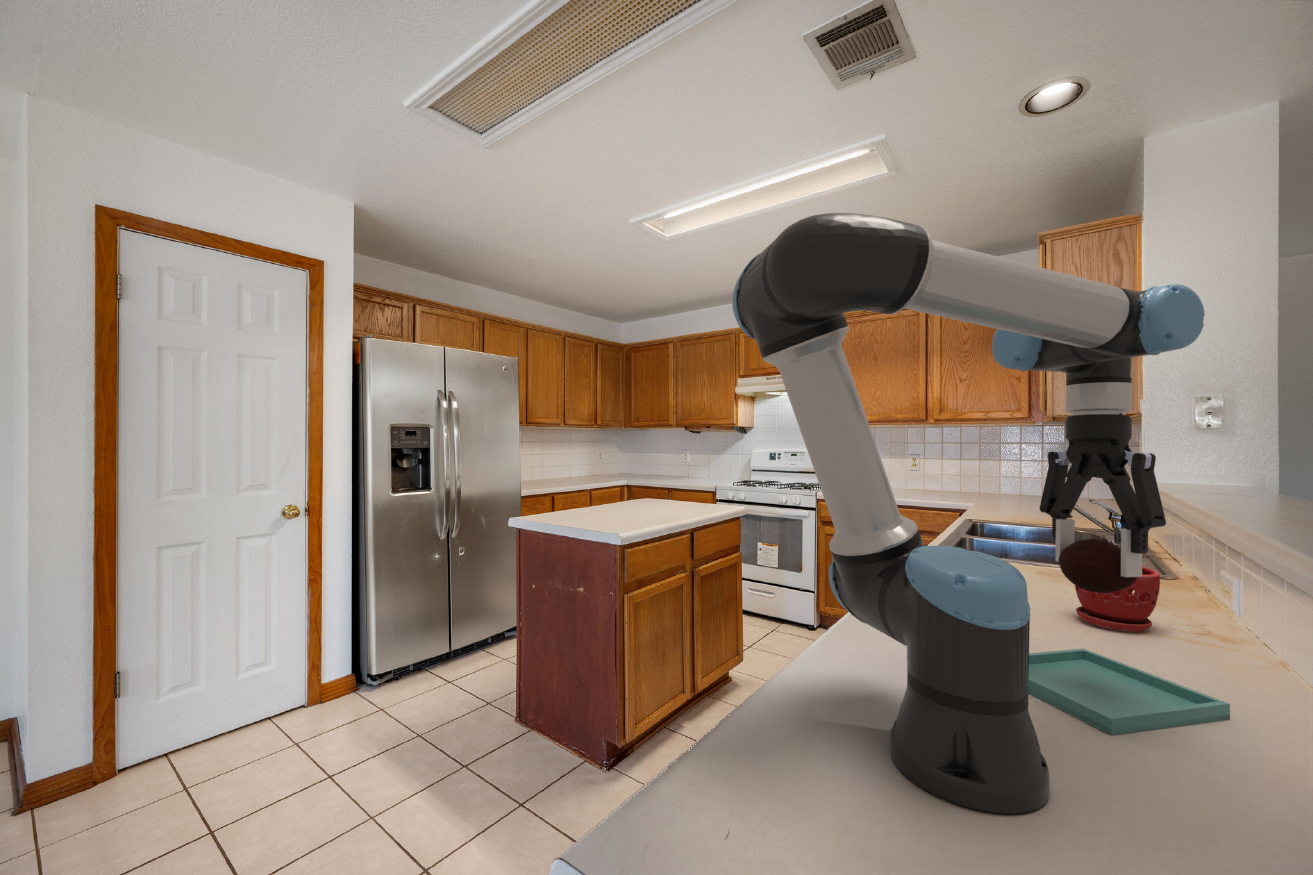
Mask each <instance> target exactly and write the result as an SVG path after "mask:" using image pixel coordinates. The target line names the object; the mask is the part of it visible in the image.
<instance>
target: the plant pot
mask: <svg viewBox="0 0 1313 875" xmlns="http://www.w3.org/2000/svg"><path fill="white" fill-rule="evenodd" d="M1160 585H1161V574H1160V572H1158V571H1156V570H1154V569H1152V568H1149V567H1145V566H1142V577H1137V579H1136V581H1135V582H1134V583H1133V584H1132V585H1131V586H1130V587H1127V588H1125V589H1123V590H1121V591H1116V592H1110V593H1098V592H1089V591H1087V590H1084V589H1081V588H1079V587H1078V586H1076V585H1074V589H1075V593H1076V596H1077V599H1078V601H1079V604H1080V605H1081V606H1078V607H1076V609H1075V612H1076V614H1077V615H1078V616H1079V617H1080V618H1081V619H1082V621H1085V622H1087V623H1089V624H1091V625H1093V626H1097V627H1100V628H1103V629H1108V630H1113V631H1118V632H1119V631H1120V632H1128V633H1129V632H1130V633H1137V632H1144V631H1147V630H1149V629H1150V628H1151V627H1152V625H1153V622H1152V620H1150V619H1149V617H1150V616H1151V615H1152V613H1153V612H1154V610H1155V608H1156V605H1157V603H1158V599H1159V598H1158V597H1159V595H1160V587H1161V586H1160ZM1133 592H1134V593H1133Z"/></svg>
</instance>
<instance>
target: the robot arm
mask: <svg viewBox="0 0 1313 875" xmlns="http://www.w3.org/2000/svg"><path fill="white" fill-rule="evenodd" d="M930 235H931V234H930V233H929V231H928V230H927V228H926V227H923V226H921V225H918V224H913V223H910V222H907V221H906V222H905V221H901V220H898V219H893V218H888V217H884V216H878V215H873V214H871V215H870V214H863V213H853V212H852V213H850V212H827V213H820V214H813V215H810V216H807V217H804V218H801V219H799V220H797V221H795V222H794V223H792V224H790V225H788V226H787V227H786V228H785V229H783V231H782V232H780V234H779V235H778V236H777V237H776V238H775V239H774V241H772V242H771V243H770V244H768V246H766V247H765V248H764V250H762V251H761V252H759V253H758V254H757V255H755V256H754V257H753V258H752V259H751V260H750V261H749V262H748V263H747V264H746V266H745V267H744V268H743V270H742V271H741V273H740V275H739V277H738V279H737V281H736V282H735V285H734V289H733V294H732V301H731V302H732V303H731V304H732V305H731V306H732V310H733V315H734V319H735V321H736V323H737V325H738V326H739V328H740V330H741V331H742V332H743V333H744V334H745V335H747V337H749V338H751V339H753V340H755V343H756V345H757V347H758V350H759V352H760V356H761V357H762V361H763V362H766V363H767V364H769V365H771V366H774V367H775V368H777V370H778V372H779V374H780V376H781V377H780V378H781V380H782V382H783V385H784V389H785V392H786V394H787V396H788V400H789V403H790V406H791V409H792V412H793V414H794V416H795V419H796V422H797V425H798V427H799V431H800V433H801V437H802V439H803V442H804V444H805V448H806V450H807V454H808V455H809V459H810V461H811V465H812V468H813V470H814V474H815V476H816V479H817V482H818V485H819V487H820V490H821V492H822V493H821V494H822V496H823V499H824V501H825V502H824V503H825V505H826V507H827V510H828V512H829V516H830V519H831V521H832V524H833V527H834V530H835V533H834V534H833V536H832V538H831V539H830V541H829V544H828V546H829V551H830V554H831V555H832V557H831V558H832V561H831V563H830V564H829V568H828V579H829V584H830V588H831V591H832V593H833V595H834V597H835V599H836V600H837V602H838V603H839V604H840V606H842V607H843V609H845V610H846V611H847V612H849V614H850V615H852V616H853V617H854V618H855V619H856V620H858V621H859V622H861V623H863V624H865V625H868V626H870V627H871V628H873V629H875V630H876V631H879V632H880V633H882V634H883V635H886V636H888V637H889V638H891V639H893V640H894V641H896V642H899V643H900V644H901V645H904V646H905V647H906V664H907V665H906V669H907V671H906V673H907V677H906V681H907V682H906V689H905V692H904V695H903V698H902V701H901V704H900V707H899V710H898V714H897V718H896V720H895V721H894V723H893V725H892V727H891V730H890V757H891V759H892V761H893V763H894V764H895V766H896V768H898V770H899V771H900V772H901V773H902V774H903V775H904V776H905V777H906V778H908V779H909V780H910V781H911V782H913V783H914V784H916V785H917V786H919V787H920V788H921V789H923V790H925V791H927V792H929V793H930V794H933V795H934V796H936V797H939V798H941V799H943V800H945V801H948V802H950V803H954V804H956V805H959V806H962V807H967V808H970V809H973V810H979V811H983V812H989V813H995V814H1022V813H1024V814H1025V813H1028V812H1032V811H1035V810H1039V809H1040V808H1041V807H1043V806H1044V805H1045V804H1046V803H1047V802H1048V800H1049V798H1050V772H1049V770H1050V769H1049V767H1048V763H1047V760H1046V759H1045V756H1043V754H1042V752H1041V746H1040V742H1039V739H1038V737H1037V733H1036V730H1035V728H1034V724H1033V721H1032V717H1031V716H1030V710H1029V693H1028V683H1029V653H1030V630H1031V629H1030V627H1031V626H1030V622H1031V620H1030V619H1031V605H1030V603H1029V598H1028V596H1029V595H1028V586H1027V581H1026V578H1025V577H1024V575H1023V574H1022V572H1021V571H1020V570H1019V569H1018V568H1017V567H1016V566H1014V565H1013V564H1011V563H1010V562H1008V561H1006V560H1003V559H1002V558H1000V557H997V556H995V555H991V554H988V553H984V552H981V551H977V550H968V549H965V548H963V547H957V546H948V545H924V541H923V539H922V536H921V534H920V530H919V527H918V524H917V523H916V522H915V521H914V520H912V519H910V518H908V517H906V516H903V515H902V514H901V513H900V510H899V507H898V505H897V501H896V498H895V496H894V492H893V490H892V487H891V484H890V482H889V478H888V474H887V473H886V469H885V467H884V464H883V461H882V458H881V454H880V452H879V450H878V447H877V443H876V440H875V438H874V434H873V432H872V430H871V427H870V424H869V421H868V420H869V419H868V417H867V415H866V412H865V409H864V406H863V403H862V399H861V398H860V394H859V392H858V389H857V386H856V385H857V384H856V383H855V380H854V377H853V374H852V372H851V368H850V365H849V362H848V360H847V357H846V353H845V351H844V347H843V342H844V340H845V338H846V336H847V334H848V332H849V330H850V327H849V325H848V321H847V318H846V315H845V313H851V312H865V311H866V312H875V313H879V314H885V315H895V314H898V313H900V312H901V311H903V310H904V309H905V310H911V311H915V312H920V313H924V314H928V315H933V316H937V317H943V318H945V319H946V318H947V319H951V320H956V321H959V322H964V323H968V324H969V323H970V324H973V325H974V324H975V325H979V326H983V327H987V328H991V329H996V330H995V332H994V334H993V337H992V341H991V344H992V346H991V353H992V357H993V359H994V360H995V362H996V363H997V364H998V365H999V366H1001V367H1002V368H1005V369H1007V370H1008V369H1010V370H1017V371H1020V372H1026V371H1028V372H1030V371H1032V372H1055V373H1057V372H1059V373H1065V378H1066V379H1065V381H1066V382H1065V384H1066V385H1065V386H1066V387H1065V412H1066V413H1068V414H1070V415H1069V416H1067V417H1066V418H1065V439H1066V440H1067V441H1068V446H1067V449H1066V450H1065V451H1048V454H1047V461H1048V468H1047V473H1046V477H1045V481H1044V487H1043V491H1042V495H1041V500H1040V505H1039V511H1040V512H1041V513H1045V514H1047V515H1049V516H1050V517H1051V521H1052V522H1051V524H1052V525H1051V528H1052V529H1051V530H1052V532H1051V536H1052V538H1053V539H1055V562H1057V563H1059V556H1060V553H1061V552H1062V551H1063V550H1064V549H1065V548H1066V547H1067V546H1069V545H1071V544H1072V543H1075V541H1076V540H1075V538H1076V537H1075V532H1076V530H1075V528H1076V527H1075V525H1076V524H1075V522H1076V520H1075V519H1072V518H1073V517H1074V516H1073V515H1072V512H1073V511H1074V508H1075V506H1076V504H1077V503H1078V500H1079V498H1080V496H1081V495H1082V492H1084V489H1085V487H1086V485H1087V483H1089V482H1090V481H1092V479H1093V478H1096V479H1102V482H1104V484H1106V485H1107V486H1108V488H1109V490H1110V492H1111V494H1112V496H1113V498H1114V500H1115V503H1116V504H1117V506H1118V508H1119V511H1120V513H1121V515H1122V517H1123V519H1124V521H1125V523H1126V525H1124V526H1123V528H1120V529H1121V530H1120V531H1121V532H1120V548H1121V576H1123V577H1142V567H1143V555H1144V554H1145V555H1146V554H1147V553H1148V551H1149V532H1150V530H1151V529H1154V528H1159V527H1161V528H1162V527H1166V525H1167V520H1166V516H1165V515H1166V514H1165V512H1164V507H1163V504H1162V503H1163V502H1162V499H1161V494H1160V491H1159V488H1158V481H1157V478H1156V474H1155V465H1156V460H1157V459H1156V458H1157V456H1156V455H1155V453H1149V452H1134V451H1133V452H1132V449H1131V448H1130V446H1129V442H1130V441H1131V440H1132V438H1133V437H1132V436H1133V435H1132V432H1133V430H1132V429H1133V428H1132V427H1133V418H1132V417H1131V416H1130V415H1128V414H1127V413H1128V412H1131V411H1132V408H1133V406H1132V404H1133V400H1132V399H1133V398H1132V396H1133V393H1132V392H1133V389H1132V387H1133V386H1132V385H1133V383H1132V382H1133V379H1132V378H1133V377H1132V365H1133V364H1132V363H1133V362H1132V361H1133V358H1136V357H1137V358H1138V357H1144V356H1145V357H1146V356H1158V355H1160V354H1162V353H1167V352H1171V351H1176V350H1177V351H1178V350H1181V349H1184V348H1187V347H1188V346H1190V345H1191V344H1193V343H1194V342H1195V341H1196V340H1198V339H1199V336H1200V335H1201V334H1202V331H1203V329H1204V326H1205V324H1204V318H1205V314H1206V313H1205V307H1204V305H1203V302H1202V300H1201V298H1200V296H1199V295H1198V294H1197V292H1195V290H1193V289H1192V288H1190V287H1188V286H1187V285H1183V284H1180V283H1179V284H1178V283H1177V284H1176V283H1173V284H1167V285H1161V286H1158V285H1157V286H1151V287H1149V288H1148V289H1145V290H1132V289H1127V288H1123V287H1119V286H1115V285H1111V284H1107V283H1102V282H1098V281H1095V280H1093V279H1092V280H1091V279H1088V278H1083V277H1080V276H1079V277H1078V276H1076V275H1072V274H1068V273H1065V272H1060V271H1056V270H1051V269H1048V268H1044V267H1040V266H1036V265H1031V264H1027V263H1024V262H1021V261H1015V260H1012V259H1009V258H1005V257H1001V256H997V255H993V254H988V253H985V252H980V251H977V250H972V249H970V248H969V249H968V248H965V247H961V246H957V245H952V244H950V243H946V242H942V241H938V240H934V239H932V238H931V236H930ZM1069 464H1071V465H1070V467H1069ZM1126 465H1128V466H1129V467H1130V474H1131V476H1130V475H1129V472H1128V471H1127V469H1126ZM1131 480H1132V484H1131V482H1130V481H1131Z"/></svg>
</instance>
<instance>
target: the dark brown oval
mask: <svg viewBox="0 0 1313 875" xmlns="http://www.w3.org/2000/svg"><path fill="white" fill-rule="evenodd" d="M1058 564H1059V568H1060V570H1061V572H1062V574H1063V575H1064V577H1065V579H1067V580H1068V581H1069V582H1070V583H1071V584H1073V585H1074V586H1075V585H1076V586H1078V587H1079V588H1081V589H1084V590H1087V591H1089V592H1098V593H1110V592H1116V591H1121V590H1123V589H1125V588H1127V587H1130V586H1131V585H1132V584H1133V583H1134V582H1135V581H1136V579H1137V577H1123V576H1121V546H1118V545H1116V544H1115V543H1113V542H1111V541H1106V540H1102V539H1097V538H1089V539H1088V538H1087V539H1086V538H1085V539H1082V540H1081V539H1080V540H1077V541H1074V543H1072V544H1071V545H1069V546H1067V547H1066V548H1065V549H1064V550H1063V551H1062V552H1061V553H1060V556H1059V562H1058Z"/></svg>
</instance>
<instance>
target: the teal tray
mask: <svg viewBox="0 0 1313 875" xmlns="http://www.w3.org/2000/svg"><path fill="white" fill-rule="evenodd" d="M1028 695H1031V696H1034V697H1036V698H1037V699H1039V700H1041V701H1043V702H1045V703H1046V704H1047V703H1048V704H1049V705H1051V706H1053V707H1055V708H1057V709H1059V710H1061V711H1063V712H1065V713H1067V714H1069V715H1070V716H1073V717H1074V718H1077V719H1079V720H1081V721H1083V722H1085V723H1087V724H1088V725H1091V726H1092V727H1094V728H1096V729H1098V730H1101V731H1102V732H1105V733H1106V734H1109V735H1110V736H1117V735H1123V734H1131V733H1137V732H1145V731H1153V730H1161V729H1167V728H1174V727H1175V728H1176V727H1183V726H1189V725H1197V724H1204V723H1211V722H1212V723H1213V722H1218V721H1224V720H1226V721H1227V720H1230V719H1231V703H1229V702H1227V701H1225V700H1224V701H1223V700H1220V699H1218V698H1216V697H1213V696H1210V695H1208V694H1205V693H1202V692H1201V691H1197V690H1194V689H1192V688H1189V687H1187V686H1184V685H1181V684H1178V683H1176V682H1173V681H1171V680H1168V679H1165V678H1162V677H1160V676H1158V675H1156V674H1152V673H1150V672H1146V671H1143V670H1141V669H1138V668H1135V667H1133V666H1130V665H1128V664H1125V663H1123V662H1120V661H1117V660H1114V659H1112V658H1109V657H1107V656H1104V655H1101V654H1098V653H1097V652H1093V651H1091V650H1088V649H1086V648H1074V649H1064V650H1063V649H1061V650H1054V651H1042V652H1041V651H1040V652H1032V653H1031V652H1029V683H1028Z"/></svg>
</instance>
